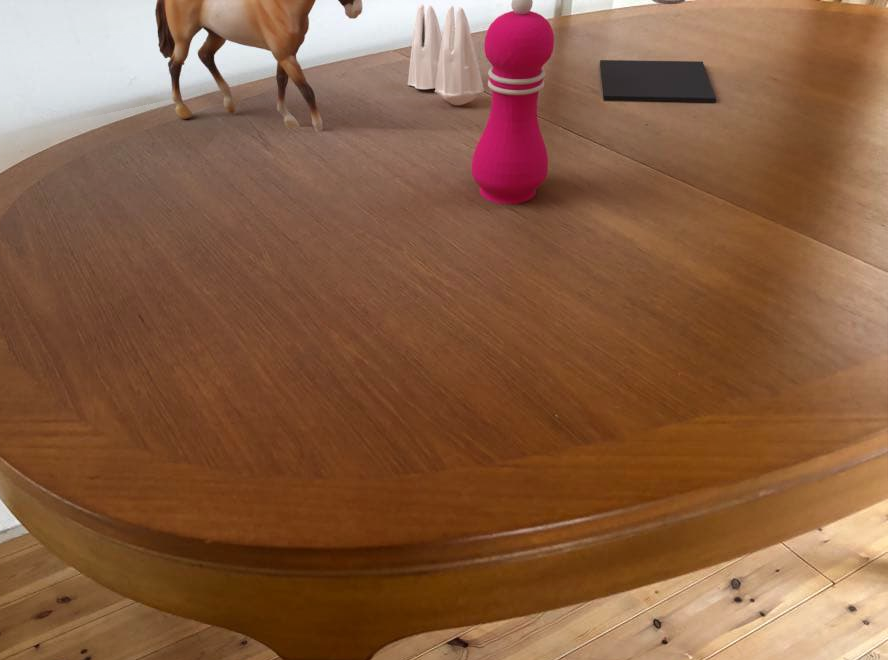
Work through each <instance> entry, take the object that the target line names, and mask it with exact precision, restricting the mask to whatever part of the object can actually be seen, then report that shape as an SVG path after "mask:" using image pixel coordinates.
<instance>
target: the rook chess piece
mask: <svg viewBox="0 0 888 660" xmlns="http://www.w3.org/2000/svg"><path fill="white" fill-rule="evenodd" d="M651 1H652V2H653V3H657V4H661V5H678V4H682V3H684V2H685V1H686V0H651Z"/></svg>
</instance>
